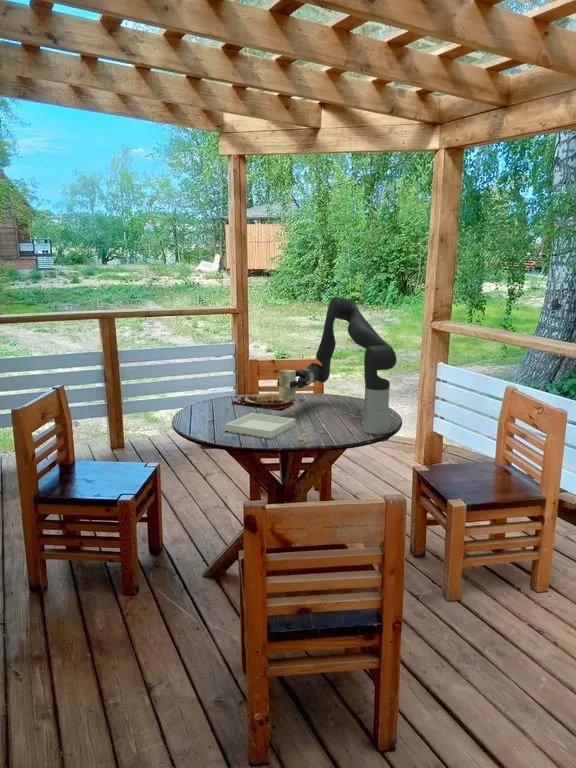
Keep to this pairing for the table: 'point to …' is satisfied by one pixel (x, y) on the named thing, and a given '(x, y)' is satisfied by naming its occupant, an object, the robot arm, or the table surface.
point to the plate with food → (265, 401)
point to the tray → (260, 425)
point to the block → (287, 385)
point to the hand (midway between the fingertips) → (284, 384)
